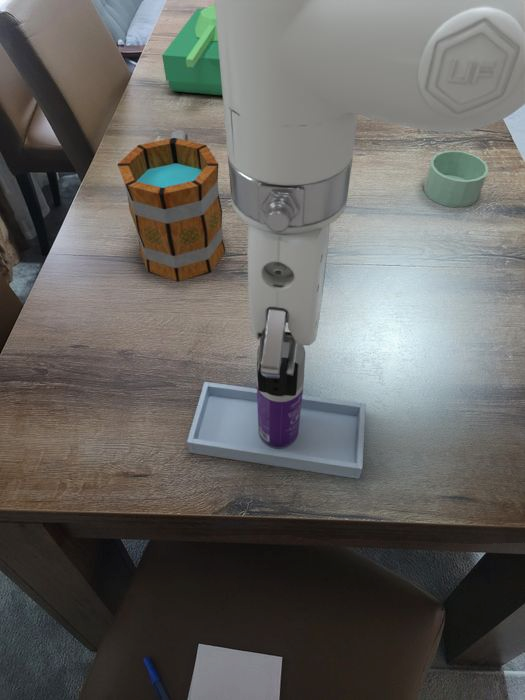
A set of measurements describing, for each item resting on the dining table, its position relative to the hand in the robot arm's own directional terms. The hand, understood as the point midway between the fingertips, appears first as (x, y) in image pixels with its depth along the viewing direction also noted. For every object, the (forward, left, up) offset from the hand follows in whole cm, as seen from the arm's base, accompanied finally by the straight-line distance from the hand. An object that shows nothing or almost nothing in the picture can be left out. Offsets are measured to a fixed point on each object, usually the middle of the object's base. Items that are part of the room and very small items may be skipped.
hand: (285, 346), depth 44 cm
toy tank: (+28, -88, -17) cm, 94 cm away
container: (0, 0, -16) cm, 16 cm away
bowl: (-23, -52, -17) cm, 59 cm away
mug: (+20, -32, -17) cm, 42 cm away
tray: (0, 0, -17) cm, 17 cm away
